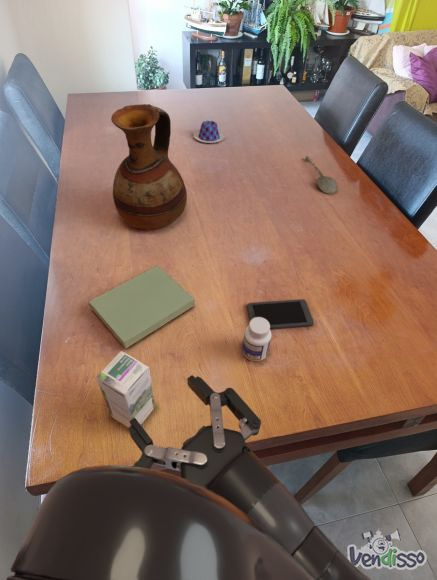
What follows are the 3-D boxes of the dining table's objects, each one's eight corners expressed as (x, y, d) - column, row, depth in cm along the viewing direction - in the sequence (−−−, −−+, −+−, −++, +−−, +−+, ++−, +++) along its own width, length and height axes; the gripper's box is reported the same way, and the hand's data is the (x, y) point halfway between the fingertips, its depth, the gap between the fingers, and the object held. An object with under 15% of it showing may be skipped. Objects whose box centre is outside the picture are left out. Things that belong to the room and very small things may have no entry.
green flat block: (126, 351, 76) (124, 342, 73) (91, 310, 82) (88, 301, 80) (194, 307, 84) (194, 298, 82) (158, 273, 91) (157, 265, 89)
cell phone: (314, 325, 82) (315, 323, 81) (252, 330, 80) (252, 328, 80) (304, 300, 87) (305, 298, 86) (246, 305, 85) (246, 302, 85)
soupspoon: (319, 196, 119) (338, 195, 120) (323, 187, 116) (342, 186, 117) (298, 159, 133) (315, 159, 134) (300, 150, 130) (318, 150, 131)
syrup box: (131, 391, 70) (119, 348, 59) (156, 407, 68) (149, 365, 57) (110, 416, 66) (93, 375, 56) (136, 434, 64) (124, 394, 54)
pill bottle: (255, 336, 79) (260, 309, 73) (272, 352, 77) (279, 326, 70) (236, 349, 77) (240, 323, 71) (254, 366, 74) (259, 341, 68)
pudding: (220, 146, 137) (221, 132, 133) (189, 141, 139) (189, 127, 135) (227, 132, 145) (228, 119, 141) (198, 128, 147) (198, 114, 143)
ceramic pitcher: (102, 223, 104) (77, 112, 82) (142, 188, 116) (130, 84, 94) (164, 244, 99) (154, 132, 77) (198, 205, 111) (199, 100, 89)
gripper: (309, 451, 38) (206, 350, 46) (203, 565, 32) (104, 424, 40) (295, 474, 44) (205, 381, 52) (203, 575, 37) (116, 450, 45)
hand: (162, 400), depth 46 cm, fingers open, 8 cm apart
